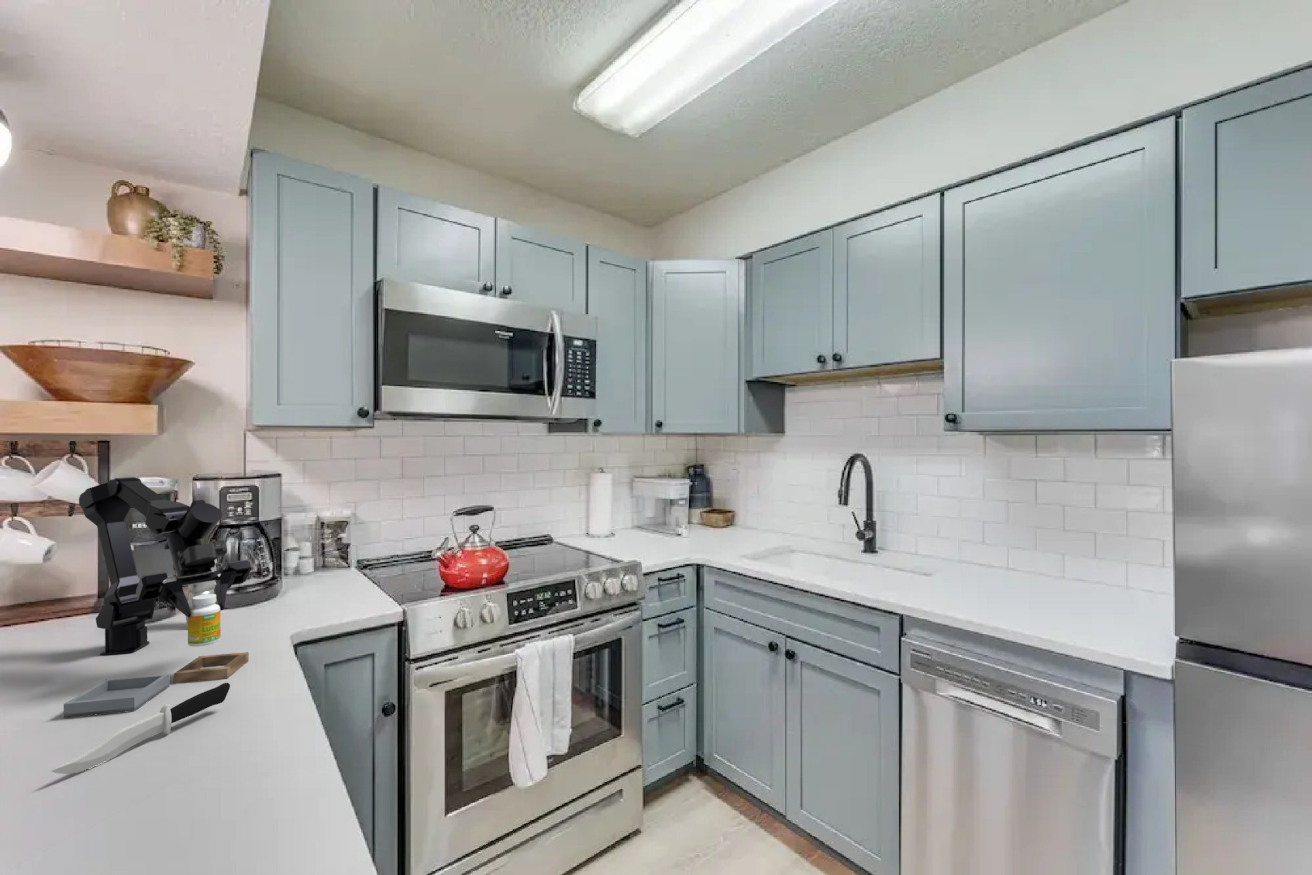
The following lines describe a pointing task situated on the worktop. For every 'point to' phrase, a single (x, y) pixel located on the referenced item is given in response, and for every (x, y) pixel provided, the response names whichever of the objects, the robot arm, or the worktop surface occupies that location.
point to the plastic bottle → (200, 590)
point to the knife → (144, 730)
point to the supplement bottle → (204, 621)
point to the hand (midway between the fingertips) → (206, 612)
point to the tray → (116, 695)
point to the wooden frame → (197, 674)
